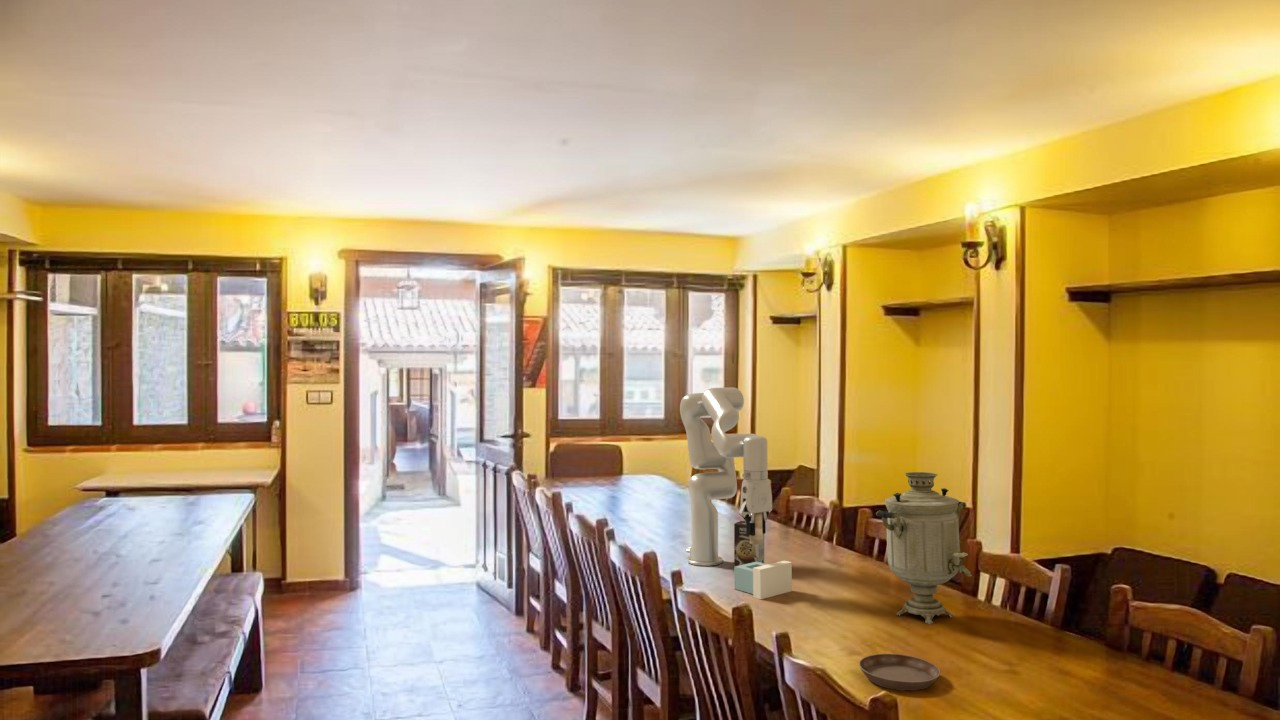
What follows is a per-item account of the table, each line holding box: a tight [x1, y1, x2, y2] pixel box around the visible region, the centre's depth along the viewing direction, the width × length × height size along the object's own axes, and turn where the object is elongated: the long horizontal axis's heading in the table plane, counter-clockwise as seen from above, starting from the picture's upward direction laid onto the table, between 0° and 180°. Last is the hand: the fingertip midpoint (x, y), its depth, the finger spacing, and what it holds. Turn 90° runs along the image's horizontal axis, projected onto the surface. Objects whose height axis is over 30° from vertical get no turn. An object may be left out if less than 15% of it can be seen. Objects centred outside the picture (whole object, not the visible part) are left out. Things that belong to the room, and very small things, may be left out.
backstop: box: [752, 560, 793, 600], centre depth 267 cm, size 3×14×9 cm, turn 129°
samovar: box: [875, 471, 972, 625], centre depth 241 cm, size 30×26×40 cm
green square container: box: [734, 562, 768, 595], centre depth 272 cm, size 10×10×7 cm
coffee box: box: [733, 520, 766, 571], centre depth 297 cm, size 9×6×16 cm
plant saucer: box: [858, 653, 941, 691], centre depth 197 cm, size 18×18×3 cm
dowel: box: [749, 513, 763, 545], centre depth 272 cm, size 4×4×10 cm
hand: (756, 533), depth 272 cm, fingers closed on dowel, 4 cm apart
